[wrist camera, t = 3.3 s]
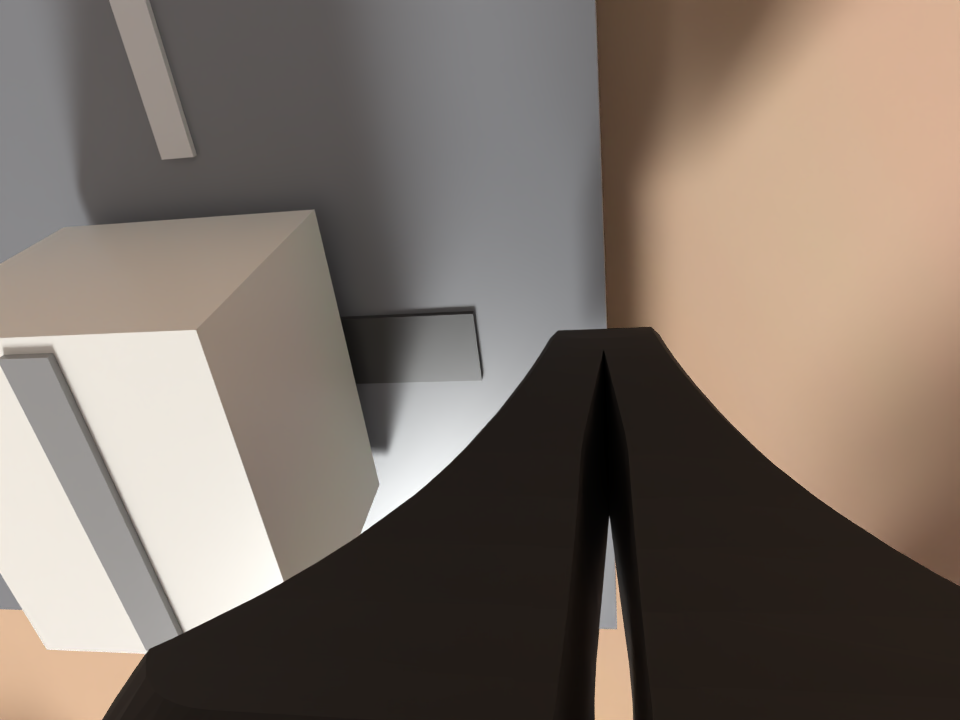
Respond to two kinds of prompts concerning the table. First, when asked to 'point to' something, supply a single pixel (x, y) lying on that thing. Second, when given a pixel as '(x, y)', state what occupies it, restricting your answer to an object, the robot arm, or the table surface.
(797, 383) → the table surface
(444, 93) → the console board
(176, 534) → the fader tab
